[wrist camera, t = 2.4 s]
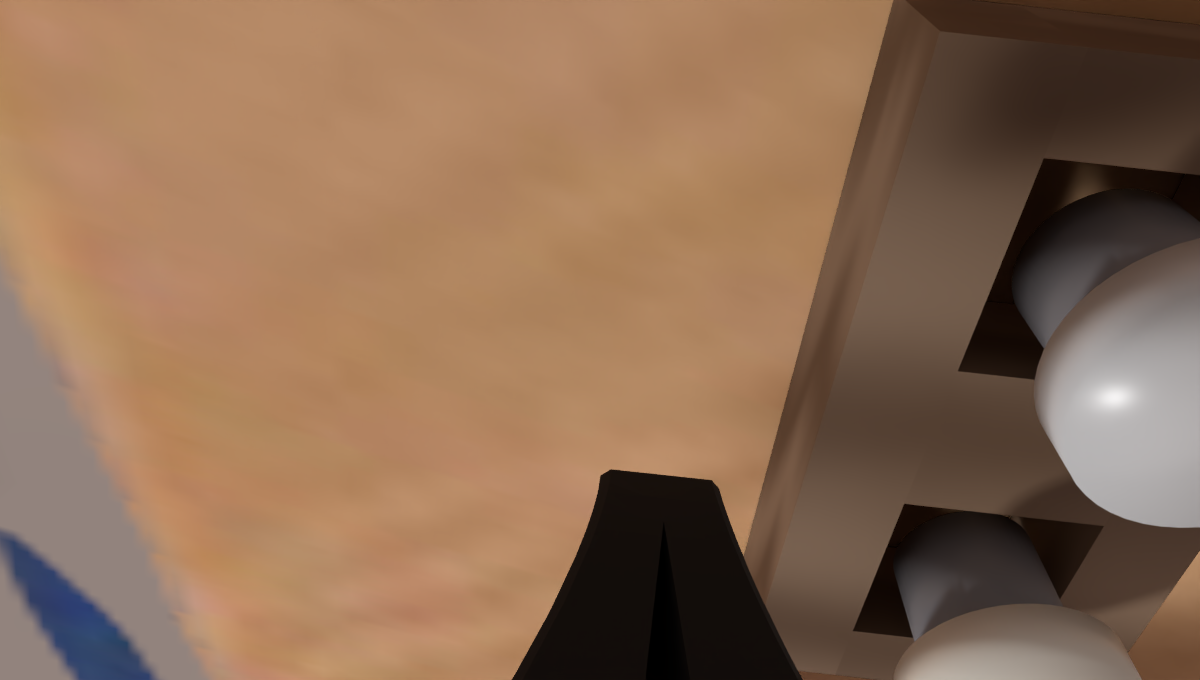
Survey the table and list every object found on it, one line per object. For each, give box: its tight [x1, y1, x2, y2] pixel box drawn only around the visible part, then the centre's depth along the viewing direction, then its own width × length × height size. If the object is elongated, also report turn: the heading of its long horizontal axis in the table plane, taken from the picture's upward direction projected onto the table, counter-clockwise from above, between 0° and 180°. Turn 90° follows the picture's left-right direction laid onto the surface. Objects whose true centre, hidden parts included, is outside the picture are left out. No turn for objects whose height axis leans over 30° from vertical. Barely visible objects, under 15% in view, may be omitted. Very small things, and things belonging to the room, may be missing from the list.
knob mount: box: [744, 0, 1200, 680], centre depth 19 cm, size 16×9×3 cm, turn 175°
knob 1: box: [1011, 188, 1200, 528], centre depth 14 cm, size 5×5×4 cm
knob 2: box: [893, 511, 1142, 680], centre depth 18 cm, size 5×5×4 cm
